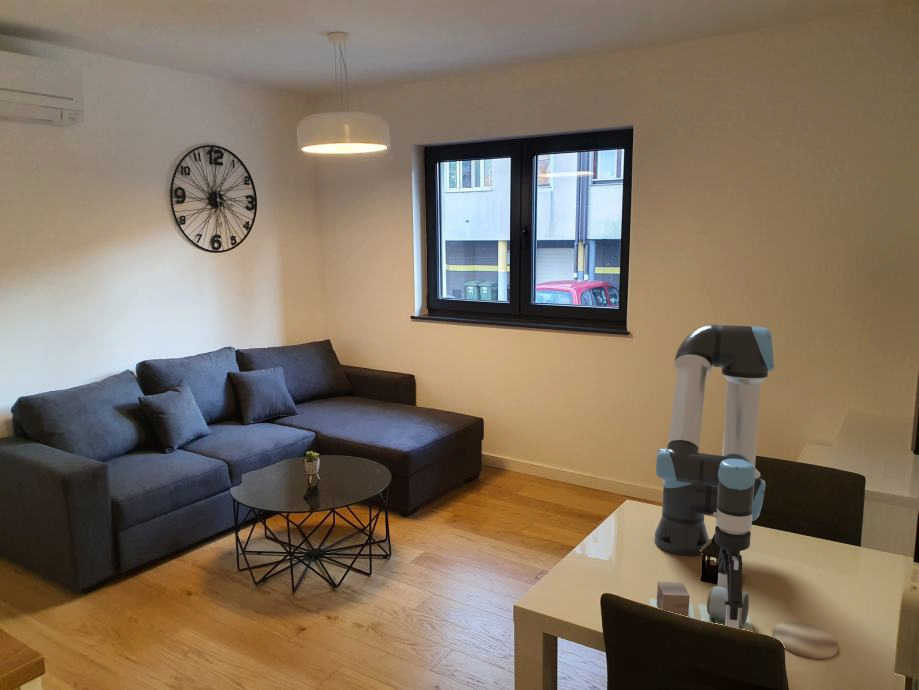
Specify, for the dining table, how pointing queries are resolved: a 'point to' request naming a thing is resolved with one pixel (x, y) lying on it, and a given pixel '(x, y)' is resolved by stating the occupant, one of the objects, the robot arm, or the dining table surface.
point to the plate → (691, 613)
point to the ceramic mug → (718, 607)
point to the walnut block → (673, 597)
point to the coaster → (806, 640)
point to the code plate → (706, 617)
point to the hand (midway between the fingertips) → (727, 614)
